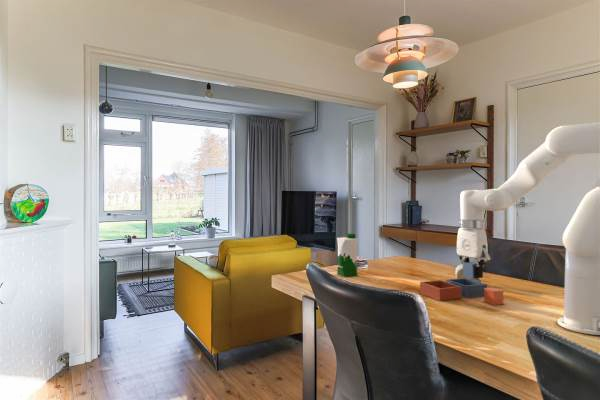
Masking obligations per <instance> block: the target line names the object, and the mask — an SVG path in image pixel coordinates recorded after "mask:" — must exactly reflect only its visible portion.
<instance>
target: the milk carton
mask: <svg viewBox="0 0 600 400" xmlns="http://www.w3.org/2000/svg"><path fill="white" fill-rule="evenodd" d="M336 241H337V242H336V243H337V270H336V273H337V275H340V276H341V277H343V278H346V277H357V276H358V263H357V262H358V245H359V238H357V237H356V233H347V234H346V236H345V237H343V236H341V237H336Z"/></svg>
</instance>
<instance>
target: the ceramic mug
mask: <svg viewBox="0 0 600 400" xmlns="http://www.w3.org/2000/svg"><path fill="white" fill-rule="evenodd" d="M454 273H455V279H460V278H467V279H470V280H474V281H477V282H481V283H482V280H481V278H475V279H472V278H468V277H464V276H463V264H462V263H461V264H458V265H457V266H456V268H455V271H454Z"/></svg>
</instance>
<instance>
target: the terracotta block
mask: <svg viewBox="0 0 600 400" xmlns="http://www.w3.org/2000/svg"><path fill="white" fill-rule="evenodd" d="M483 302H484V303H487V304H490V305H493V306H497V305H498V306H499V305H504V289H500V288H496V287H487V288H484V296H483Z"/></svg>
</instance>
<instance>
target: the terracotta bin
mask: <svg viewBox="0 0 600 400" xmlns="http://www.w3.org/2000/svg"><path fill="white" fill-rule="evenodd" d="M419 294H421V295H424V296H425V297H426V296H427V297H429V298H430V299H431V298H432V299H434V300H436V301H439V302H441V301H450V300H451V301H452V300H460V299H462V296H461V286H457V285H454V284H451V283H448V282H446V280H445V281H444V280H441V279H439V280H427V281H420V282H419Z"/></svg>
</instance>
